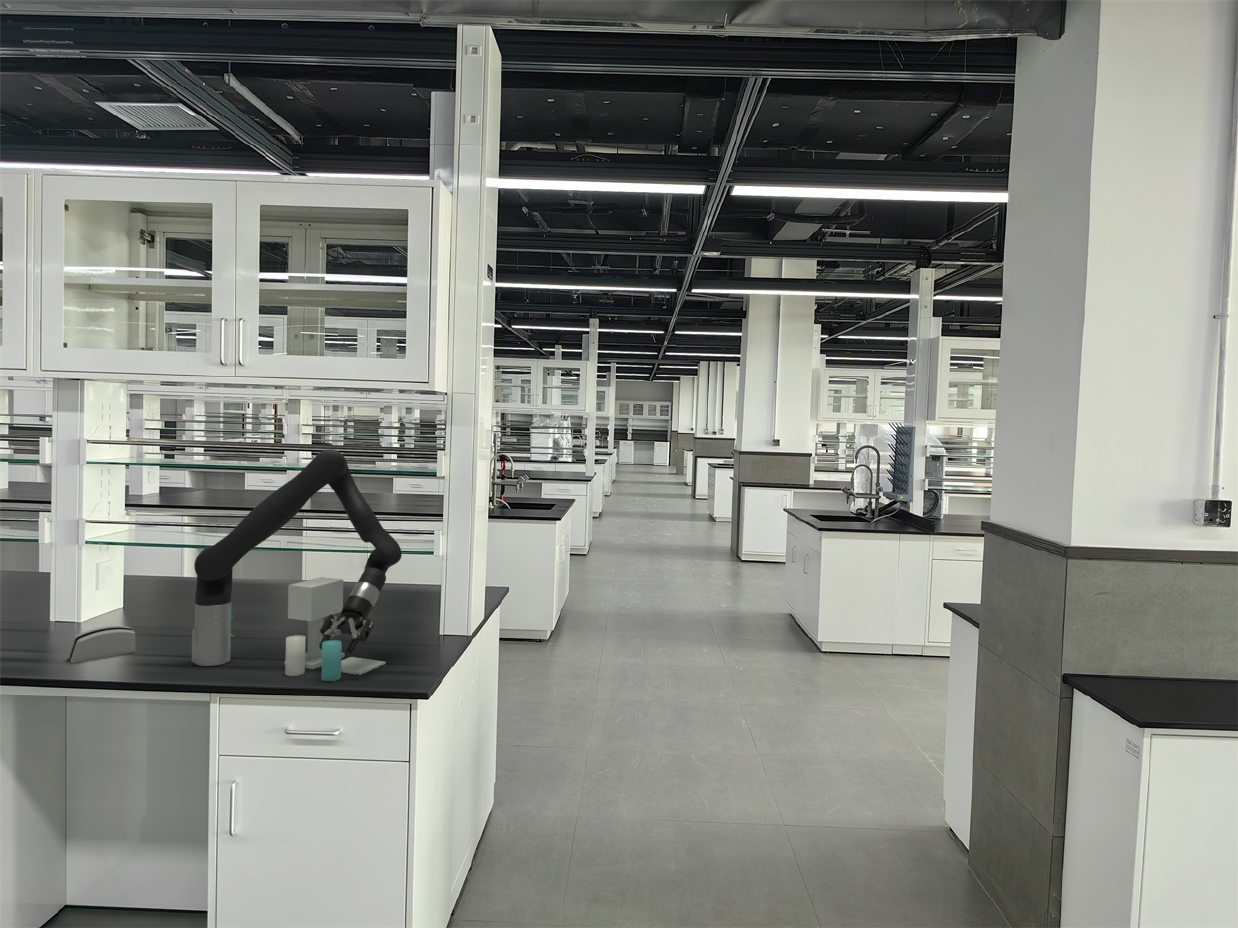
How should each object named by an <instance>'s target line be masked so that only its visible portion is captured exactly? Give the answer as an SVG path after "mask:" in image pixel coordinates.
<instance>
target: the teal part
mask: <svg viewBox="0 0 1238 928" xmlns="http://www.w3.org/2000/svg"><path fill="white" fill-rule="evenodd" d="M342 643H343V642H342V640H337V639H333V640H332V639H331V640H329V641H324V642H323V643H322V666H321V679H322V680H323V682H326V681H332V682H337V681H339V679H340V678H341V677H342V672H341V661H342V658H341V652H342ZM322 680H321V681H322ZM336 680H337V681H336ZM340 680H341V679H340Z"/></svg>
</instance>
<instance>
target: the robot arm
mask: <svg viewBox="0 0 1238 928" xmlns="http://www.w3.org/2000/svg"><path fill="white" fill-rule="evenodd" d="M327 485H328V486H329V487H330V488H331V489H332V491H333V492H334V493H335V495H336V496H337V499H339V501H340V502H341V505H342V507H343V509H344V511H345V513H346V515H347V517H348V519H349V522H350V523H351V524H352V526H353V528H354V530H355V531H356V533H357V534H358V536H359V538H360V539H361V540H362V541H363V543H367V544H368V543H370V544H371V545H372V546H373V547H374V549H373V550H372V551H371V553H370V554H369V556H368V558H367V560H366V563H365V566H364V569H363V572H362V574H361V575H360V577H359V579H358V581H357V583H356V584H355V586H354V587H353V589H352V590H351V592H350V593H349V596H348V597H347V599H346V601H345V603H343V608H342V612H340V614H339V616H334V614H333V615H332V614H330V615H329V616H327V618H326V620H325V622H323V626H322V628H321V629H320V632H321V633H322V635H323V638H322V640H321V642H320V644H319V647H320V649H321V650H322V643H323V642H324V641H329V640H332V638H334V637H335V636H339V635H340V634H348V635H352V638H350V640H349V643H348V644H347V645H346V648H345V653H346V654H348V655H352V654H353V653H354V652H355V650H356V648H357V646H358V644H360V642H364V643H365V642H367V641H368V638H369V637H370V634H371V632H372V630H373V628H374V626H375V624H374V622H373V621H372V619H370V618H369V616H370V614H371V613H372V611H373V608H374V607H375V605H376V603H377V601H378V598H379V596H380V593H381V591H382V589H383V587H384V585H385V583H386V581H387V576H386V573H387V571H388V570H389V569H390V568H391V567H392V566H394V565H396V564H398V563H399V562H400V560H401V558H402V556H403V555H402V554H403V552H402V548H401V546H400V544H399V543H398V542H397V541H396V539H395V538H394V537H393V536H392V535H391V534H390V533H389V532H388V531H387V530H386V529H385V528H384V527H383V526H382V524H381V522H380V520H379V519H378V517H377V516H376V514H375V513H374V511H373V509H372V507H371V506H370V504H368V502H367V500H366V498H364V496H363V495H362V493H361V492H360V490H359V488H358V486H357V484H356V483H355V479H354V478H353V476H352V472H351V471H350V468H349V465H348V461H347V459H346V458H345V456H344V454H342V453H341V452H340V451H338V450H335V449H329V448H328V449H324V450H322V451H320V452H318V453H317V454H316V456H314V458H312V460H311V461H309V462H308V464H307V465H306V466H305V467H304V468H303V469H302V470H301V471H300V472H298V474H297V475H295V476H294V477H292V479H290V480H289V481H288V482H285V483H284V484H283V485H282V486H280V487H279V488H278V489H276V490H275V491H273V493H271V494H270V495H268V496H267V497H266V498H265V499H263V500H262V501H260V503H259V504H257V505H256V506H255V507H253V508H252V510H251V511H250V512H248V513H247V515H246V516H244V517H243V518H242V520H240V522H239V523H238V525H237V526H235V528H234V529H233V530H232V531H230V533H228V534H227V535H226V536H224V537H223V538H222V539H221V540H219V541H218V542H216V543H215V544H213V545H209V546H207V547H205V548H204V549H202V550H201V551H200V552H199V553H198V555H197V556H196V557H195V560H194V567H193V568H194V572H195V574H196V589H195V595H194V600H195V603H194V609H195V610H194V628H193V629H192V631H191V663H194V664H195V665H197V666H200V667H213V666H219V665H225V664H226V663H230V662H231V645H232V644H231V640H232V639H231V638H232V637H231V634H232V623H231V622H232V620H231V613H232V593H233V592H232V590H233V569H234V567H235V565H237V563H238V562H239V561H240V560H241V559H242V558H243V557H245V556H246V555H247V554H248V553H249V552H250V551H251V550H253V549H255V548H256V547H257V546H259V545H260V544H262V543H263V542H265V540H268V539H269V538H270V537H271V536H272V535H274V534H275V533H277V532H279V530H281V528H283V527H285V525H287V523H289V522H290V521H291V520H292V519H293V518H294V517H296V515H297V514H298V513H299V512H300V511H301V509H303V507H304V506H305V505H306V503H307V502H308V501H309V500H310V499H311V498H312V497H313V496H314V495H315V494H316V493H317V492H319V491H320V490H322V488H324V487H325V486H327ZM361 628H362V629H361ZM360 629H361V631H360Z"/></svg>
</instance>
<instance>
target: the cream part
mask: <svg viewBox="0 0 1238 928" xmlns="http://www.w3.org/2000/svg"><path fill="white" fill-rule="evenodd" d="M305 653H306V636H305V635H301V634H299V635H298V634H297V635H295V634H294V635H290V636H289V635H288V636H286V637H285V660H286V665H284V666H285V669H284V670H285V671H284V674H285V676H289V677H297V676H301V675H304V674H305V672H306V668H305Z"/></svg>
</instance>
